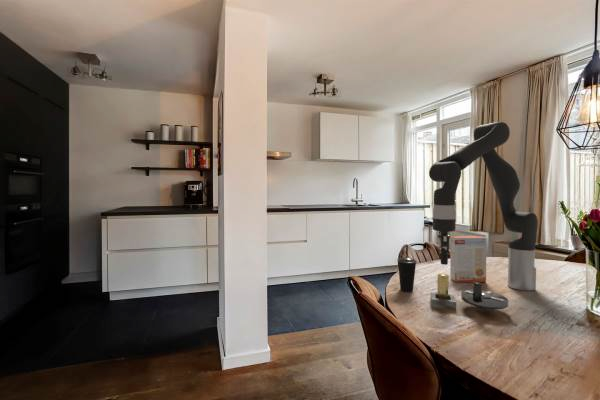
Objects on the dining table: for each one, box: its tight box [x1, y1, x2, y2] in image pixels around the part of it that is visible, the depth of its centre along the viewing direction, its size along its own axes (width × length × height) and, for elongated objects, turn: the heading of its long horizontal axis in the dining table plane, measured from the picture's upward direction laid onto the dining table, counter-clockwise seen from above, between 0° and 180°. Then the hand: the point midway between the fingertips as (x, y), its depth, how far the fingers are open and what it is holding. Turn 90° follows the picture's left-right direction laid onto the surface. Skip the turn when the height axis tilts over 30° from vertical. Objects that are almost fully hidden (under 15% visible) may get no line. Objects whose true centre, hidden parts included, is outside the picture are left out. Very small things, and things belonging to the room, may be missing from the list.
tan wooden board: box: [430, 291, 511, 323], centre depth 106 cm, size 23×15×4 cm, turn 68°
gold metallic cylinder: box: [437, 273, 450, 300], centre depth 109 cm, size 4×4×11 cm
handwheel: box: [460, 282, 509, 310], centre depth 104 cm, size 14×14×8 cm
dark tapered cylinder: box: [397, 244, 418, 293], centre depth 125 cm, size 8×8×20 cm
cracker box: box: [449, 235, 487, 283], centre depth 140 cm, size 14×6×21 cm, turn 84°
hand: (443, 261), depth 109 cm, fingers open, 8 cm apart
